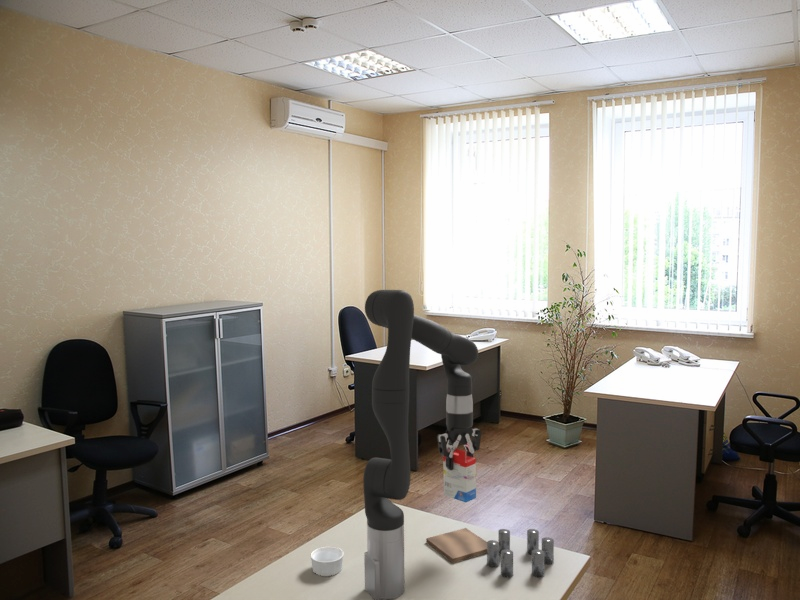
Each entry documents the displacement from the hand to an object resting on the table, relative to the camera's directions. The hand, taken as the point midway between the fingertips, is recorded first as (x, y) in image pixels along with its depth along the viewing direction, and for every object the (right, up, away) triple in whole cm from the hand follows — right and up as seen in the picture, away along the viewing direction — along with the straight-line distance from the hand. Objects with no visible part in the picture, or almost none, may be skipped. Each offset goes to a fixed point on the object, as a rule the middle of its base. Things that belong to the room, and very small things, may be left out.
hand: (459, 467), depth 173 cm
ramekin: (-37, -25, -10) cm, 45 cm away
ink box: (0, -9, +1) cm, 9 cm away
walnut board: (0, -23, +2) cm, 23 cm away
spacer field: (+16, -24, -8) cm, 30 cm away
